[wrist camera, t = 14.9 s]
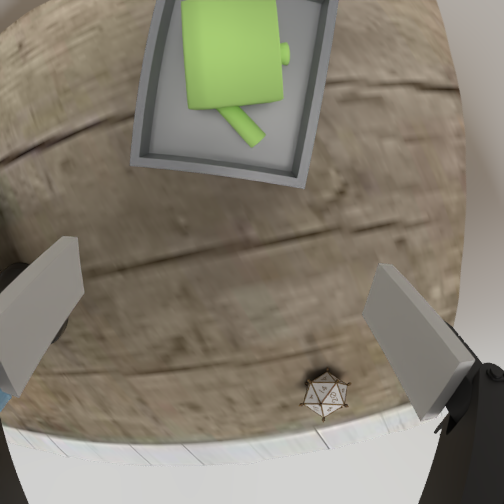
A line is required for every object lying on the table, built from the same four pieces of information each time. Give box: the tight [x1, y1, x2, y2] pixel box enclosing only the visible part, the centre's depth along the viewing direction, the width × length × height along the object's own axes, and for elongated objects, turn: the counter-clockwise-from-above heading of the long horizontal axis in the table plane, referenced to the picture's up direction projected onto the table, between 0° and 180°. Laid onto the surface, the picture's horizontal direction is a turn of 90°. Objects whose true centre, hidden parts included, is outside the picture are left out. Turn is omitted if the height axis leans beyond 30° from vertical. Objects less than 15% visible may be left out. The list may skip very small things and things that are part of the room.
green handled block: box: [181, 0, 290, 148], centre depth 27 cm, size 18×10×10 cm, turn 4°
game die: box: [299, 367, 351, 422], centre depth 48 cm, size 9×8×10 cm
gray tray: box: [130, 0, 339, 189], centre depth 30 cm, size 19×24×5 cm
